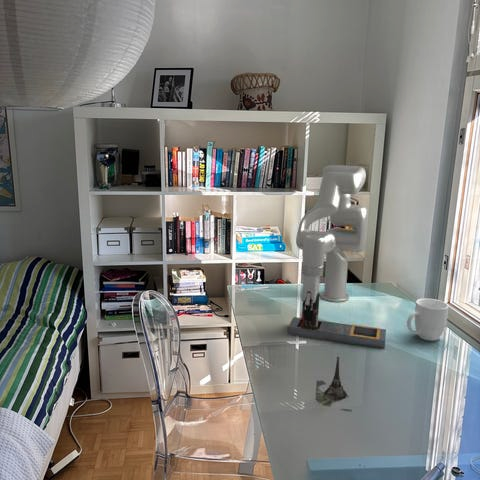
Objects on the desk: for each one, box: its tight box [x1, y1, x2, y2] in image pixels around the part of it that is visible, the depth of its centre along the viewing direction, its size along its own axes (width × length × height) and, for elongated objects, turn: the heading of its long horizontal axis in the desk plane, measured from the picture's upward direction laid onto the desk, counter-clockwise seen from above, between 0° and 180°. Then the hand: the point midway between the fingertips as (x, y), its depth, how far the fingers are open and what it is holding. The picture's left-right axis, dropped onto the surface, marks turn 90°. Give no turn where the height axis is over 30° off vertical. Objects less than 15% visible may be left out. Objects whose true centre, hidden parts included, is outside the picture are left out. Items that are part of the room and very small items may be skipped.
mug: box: [406, 298, 449, 342], centre depth 174 cm, size 15×11×13 cm
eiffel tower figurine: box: [315, 353, 352, 412], centre depth 135 cm, size 15×10×13 cm
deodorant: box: [300, 292, 321, 330], centre depth 177 cm, size 6×6×15 cm
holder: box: [287, 316, 387, 349], centre depth 175 cm, size 10×34×3 cm, turn 72°
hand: (310, 316), depth 177 cm, fingers closed on deodorant, 5 cm apart
